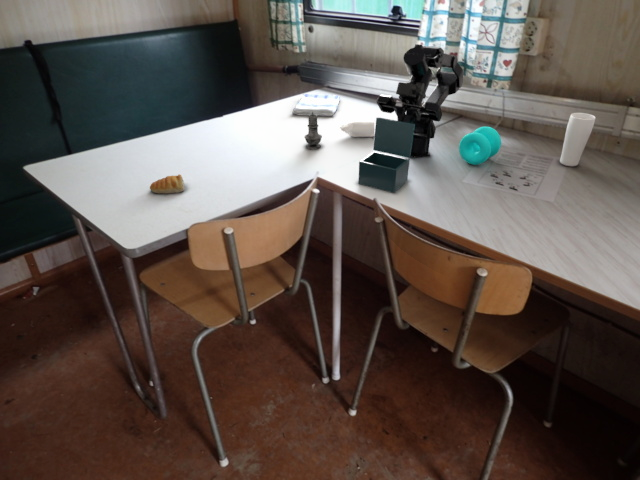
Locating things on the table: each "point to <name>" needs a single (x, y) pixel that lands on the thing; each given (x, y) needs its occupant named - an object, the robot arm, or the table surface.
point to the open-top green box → (383, 171)
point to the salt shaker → (313, 134)
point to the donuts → (480, 145)
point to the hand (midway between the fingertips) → (398, 133)
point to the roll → (359, 128)
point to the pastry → (168, 185)
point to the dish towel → (317, 105)
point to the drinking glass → (576, 137)
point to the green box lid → (393, 137)
